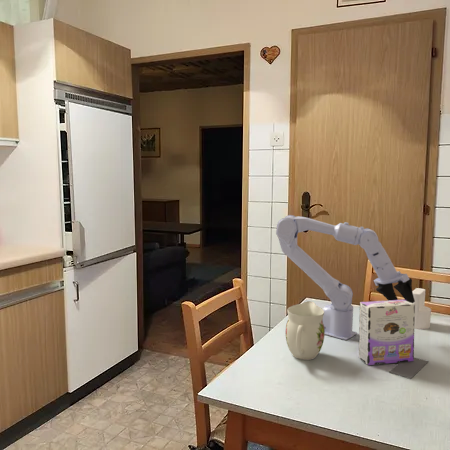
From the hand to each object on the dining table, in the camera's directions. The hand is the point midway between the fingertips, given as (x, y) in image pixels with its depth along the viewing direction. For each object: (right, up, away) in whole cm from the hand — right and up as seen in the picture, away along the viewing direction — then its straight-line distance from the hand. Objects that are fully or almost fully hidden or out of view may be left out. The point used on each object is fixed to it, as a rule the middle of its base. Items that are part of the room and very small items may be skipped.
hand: (403, 303), depth 141 cm
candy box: (-10, -14, -13) cm, 22 cm away
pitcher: (-33, -13, -11) cm, 37 cm away
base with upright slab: (+11, -11, +17) cm, 23 cm away
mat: (-5, -14, -18) cm, 23 cm away
